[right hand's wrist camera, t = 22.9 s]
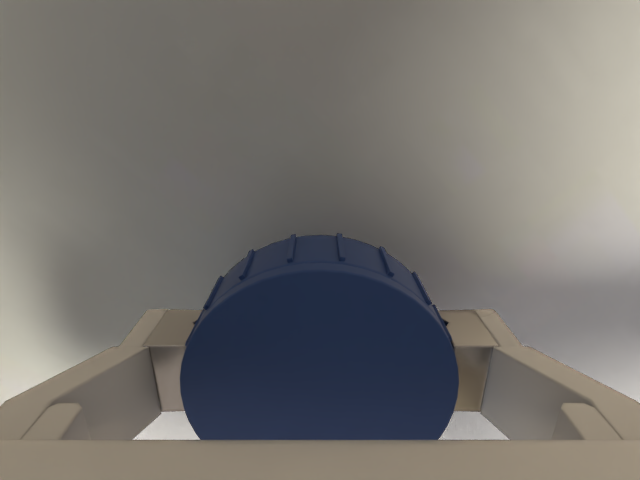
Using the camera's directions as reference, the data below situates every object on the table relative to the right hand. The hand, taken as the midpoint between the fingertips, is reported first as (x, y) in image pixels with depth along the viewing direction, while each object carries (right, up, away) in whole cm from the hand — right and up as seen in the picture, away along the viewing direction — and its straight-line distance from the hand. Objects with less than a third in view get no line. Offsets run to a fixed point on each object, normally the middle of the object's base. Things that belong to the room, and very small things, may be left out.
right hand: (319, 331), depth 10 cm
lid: (0, -1, -2) cm, 2 cm away
